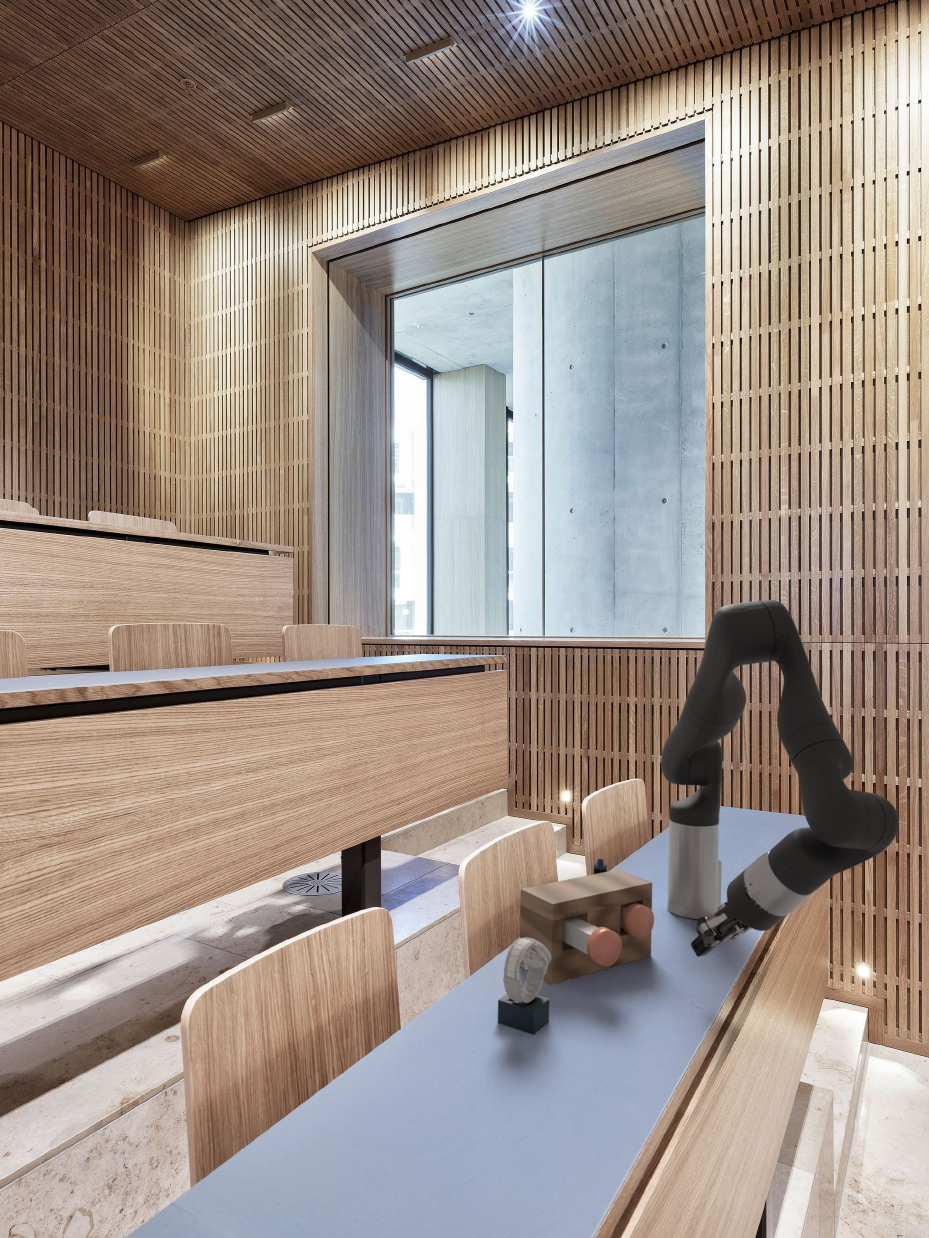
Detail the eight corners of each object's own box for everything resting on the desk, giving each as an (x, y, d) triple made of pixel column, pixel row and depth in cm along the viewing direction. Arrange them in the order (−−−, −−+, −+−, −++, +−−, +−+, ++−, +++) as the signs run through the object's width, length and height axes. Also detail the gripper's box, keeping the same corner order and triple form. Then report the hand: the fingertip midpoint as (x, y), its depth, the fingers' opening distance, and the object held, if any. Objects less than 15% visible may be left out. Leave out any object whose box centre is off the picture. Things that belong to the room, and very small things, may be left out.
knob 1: (574, 938, 126) (574, 906, 126) (621, 962, 117) (622, 928, 117) (549, 944, 123) (550, 912, 123) (595, 969, 114) (596, 934, 114)
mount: (616, 939, 137) (618, 869, 138) (651, 955, 131) (652, 882, 131) (519, 965, 126) (520, 888, 126) (551, 984, 119) (552, 904, 119)
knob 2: (608, 915, 136) (608, 885, 136) (653, 935, 128) (654, 904, 128) (586, 920, 134) (586, 890, 134) (631, 941, 125) (631, 909, 125)
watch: (555, 1016, 110) (557, 936, 110) (527, 1040, 103) (528, 955, 103) (520, 1005, 113) (521, 926, 113) (490, 1028, 106) (491, 944, 106)
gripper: (783, 857, 113) (713, 918, 123) (721, 870, 105) (651, 933, 116) (817, 906, 108) (741, 965, 118) (754, 923, 101) (679, 984, 111)
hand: (697, 949), depth 117 cm, fingers closed
